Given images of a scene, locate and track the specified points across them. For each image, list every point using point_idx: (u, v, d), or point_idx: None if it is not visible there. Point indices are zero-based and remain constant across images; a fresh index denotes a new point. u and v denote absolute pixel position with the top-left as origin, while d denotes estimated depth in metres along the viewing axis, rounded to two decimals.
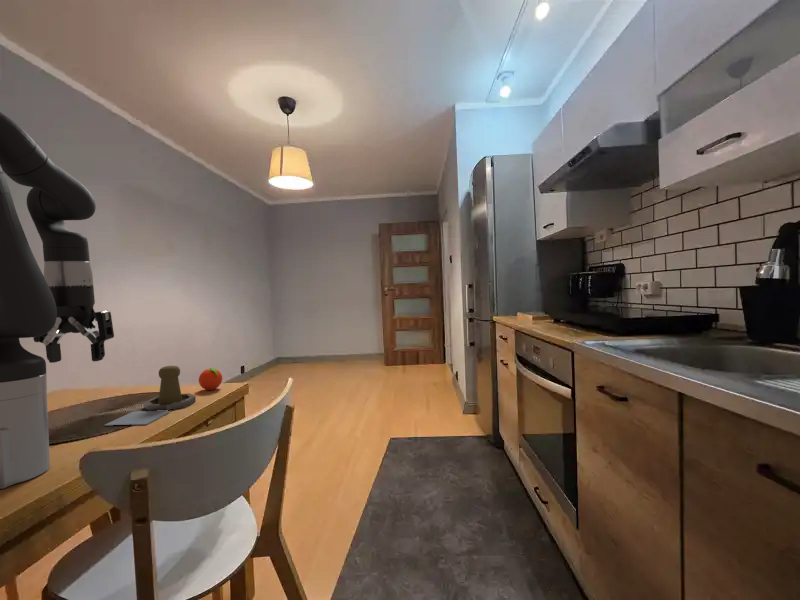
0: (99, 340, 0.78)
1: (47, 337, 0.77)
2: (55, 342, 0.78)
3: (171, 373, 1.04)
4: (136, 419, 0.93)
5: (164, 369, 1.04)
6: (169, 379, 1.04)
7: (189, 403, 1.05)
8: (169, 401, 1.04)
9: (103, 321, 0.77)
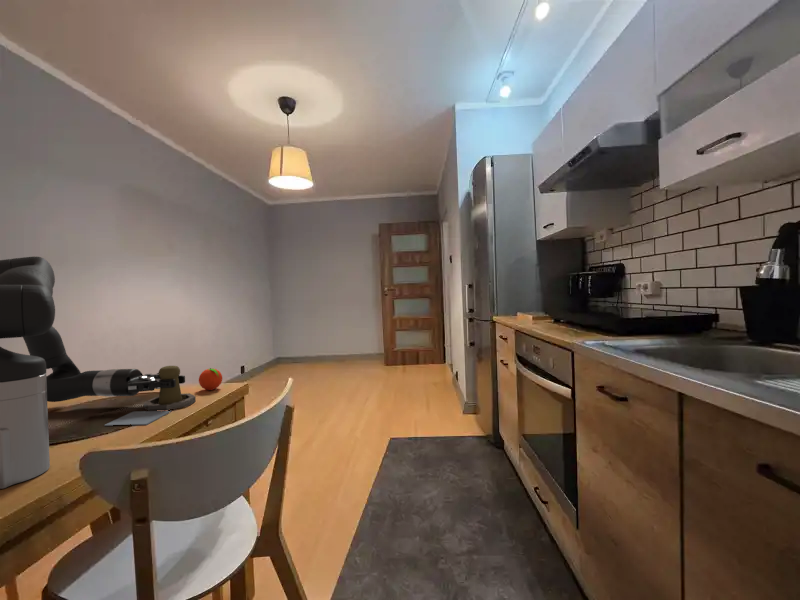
0: None
1: (155, 379, 1.04)
2: None
3: (171, 373, 1.04)
4: (136, 419, 0.93)
5: (164, 369, 1.04)
6: None
7: (189, 403, 1.05)
8: (169, 401, 1.04)
9: None
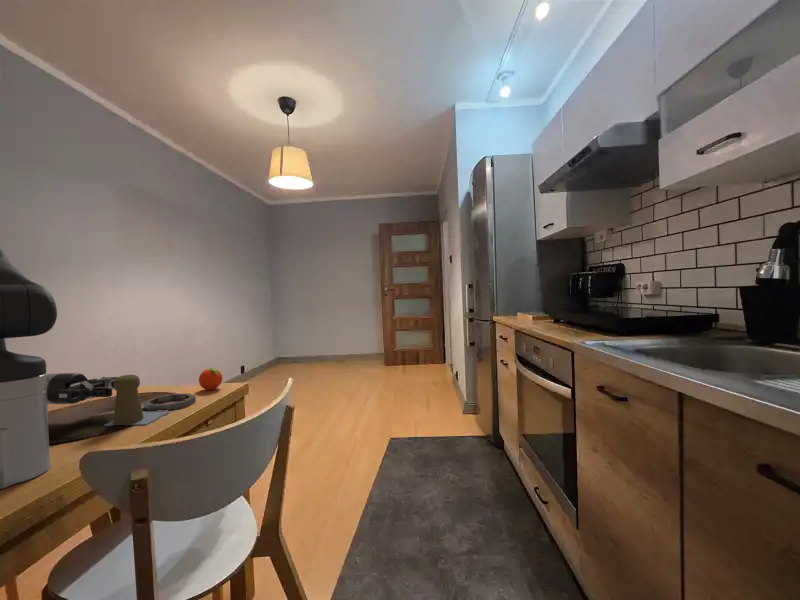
0: None
1: (88, 387, 0.90)
2: None
3: (128, 386, 0.89)
4: None
5: (119, 381, 0.89)
6: (125, 392, 0.89)
7: (189, 403, 1.05)
8: (126, 417, 0.89)
9: None
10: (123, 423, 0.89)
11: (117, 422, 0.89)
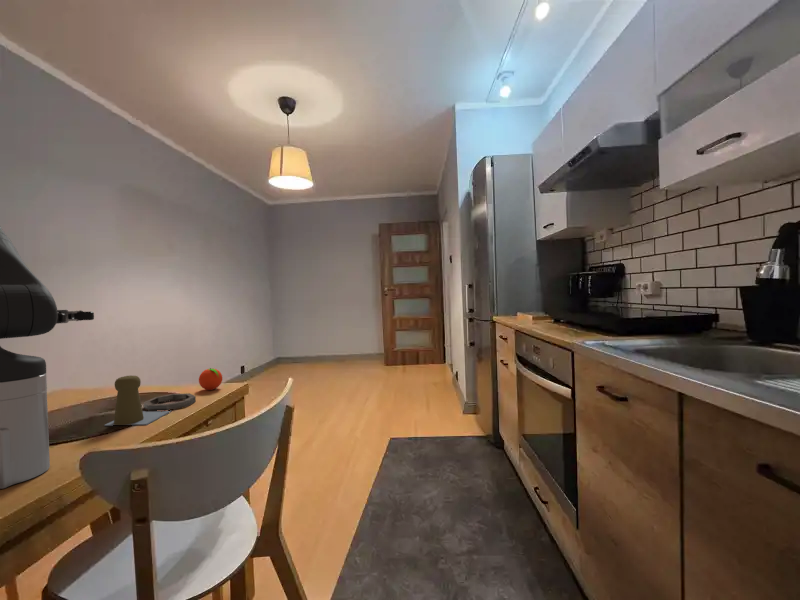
0: None
1: None
2: None
3: (129, 385, 0.90)
4: None
5: (121, 380, 0.90)
6: (126, 391, 0.90)
7: (189, 403, 1.05)
8: (126, 417, 0.90)
9: None
10: (124, 423, 0.89)
11: (118, 422, 0.89)
